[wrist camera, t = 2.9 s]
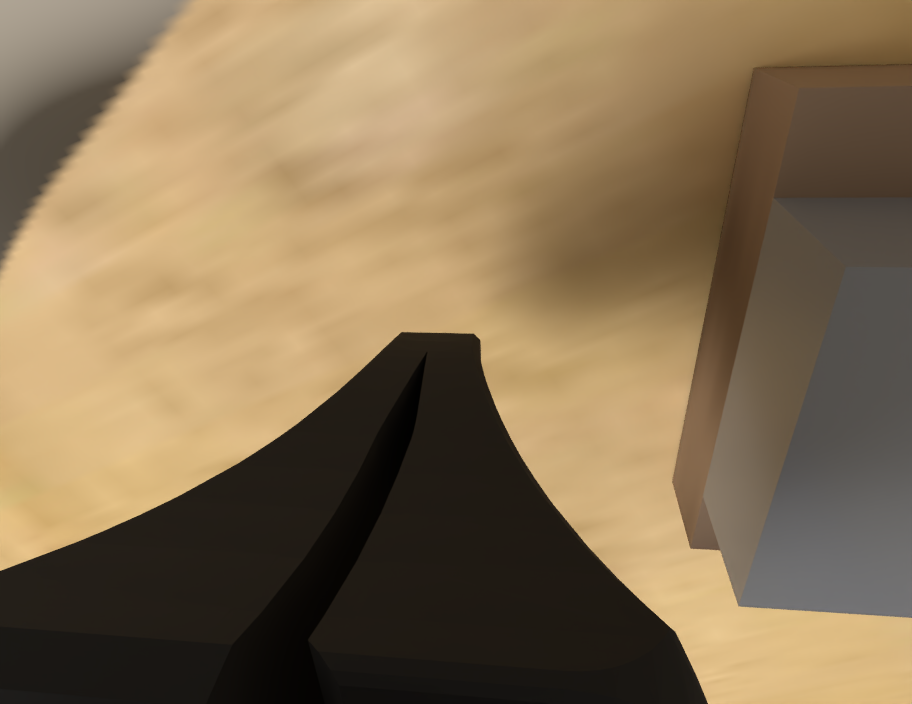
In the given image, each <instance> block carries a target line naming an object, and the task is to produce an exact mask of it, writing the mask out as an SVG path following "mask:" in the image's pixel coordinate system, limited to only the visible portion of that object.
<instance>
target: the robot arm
mask: <svg viewBox="0 0 912 704" xmlns="http://www.w3.org/2000/svg"><path fill="white" fill-rule="evenodd" d="M0 704H708V703H707V700H706V698H705V695H704V693H703V691H702V688H701V686H700V684H699V681H698V679H697V677H696V674H695V672H694V670H693V668H692V666H691V663H690V661H689V659H688V657H687V655H686V653H685V651H684V649H683V647H682V645H681V643H680V641H679V639H678V637H677V635H676V633H675V631H674V630H672V629H671V628H670V627H669V626H668V625H667V624H666V623H665V622H664V621H662V620H661V619H660V618H659V617H658V616H657V615H656V614H655V613H654V612H652V611H651V610H650V609H649V608H648V607H647V606H646V605H645V604H644V603H643V602H642V601H640V600H639V599H638V598H637V597H636V596H635V595H634V594H633V593H632V592H631V591H630V590H629V589H628V588H627V587H626V586H625V585H624V584H623V583H622V582H621V581H620V580H619V579H618V578H617V577H616V576H615V575H614V574H613V573H612V572H611V571H610V570H609V569H608V568H607V567H606V565H605V564H604V563H603V562H602V561H601V560H600V559H599V558H598V557H597V556H596V555H595V554H594V553H593V552H592V551H591V550H590V549H589V547H588V546H587V545H586V544H585V543H584V541H583V540H582V539H581V538H580V537H579V535H578V534H577V533H576V532H575V530H574V529H573V528H572V527H571V526H570V524H569V523H568V522H567V521H566V520H565V518H564V517H563V516H562V515H561V513H560V512H559V511H558V510H557V509H556V507H555V506H554V505H553V504H552V502H551V501H550V500H549V498H548V497H547V495H546V494H545V493H544V491H543V490H542V488H541V487H540V485H539V484H538V483H537V481H536V480H535V478H534V477H533V475H532V474H531V472H530V470H529V469H528V467H527V466H526V464H525V462H524V461H523V459H522V458H521V456H520V454H519V452H518V451H517V449H516V447H515V445H514V443H513V442H512V440H511V438H510V436H509V434H508V432H507V430H506V428H505V426H504V424H503V422H502V420H501V418H500V415H499V413H498V411H497V409H496V406H495V404H494V401H493V398H492V396H491V393H490V391H489V388H488V385H487V382H486V379H485V376H484V372H483V368H482V364H481V345H480V339H479V338H478V337H476V336H475V335H474V334H458V333H411V332H401V333H400V334H399V335H398V336H397V337H396V338H395V339H394V340H393V341H392V342H390V343H389V344H388V345H387V346H386V347H385V348H384V349H383V350H382V351H381V352H380V353H379V354H378V355H377V356H376V357H375V358H374V359H373V360H371V361H370V362H369V363H368V364H367V365H366V366H365V367H364V368H363V369H362V370H361V371H360V372H359V373H358V374H357V375H355V376H354V377H353V378H352V379H351V380H350V381H349V382H348V383H347V384H345V385H344V386H343V387H342V388H341V389H340V390H339V391H338V392H337V393H335V394H334V395H333V396H332V397H330V398H329V399H328V400H327V401H325V402H324V403H323V404H322V405H320V406H319V407H318V408H317V409H315V410H314V411H313V412H312V413H310V414H309V415H308V416H307V417H305V418H304V419H303V420H302V421H300V422H299V423H298V424H297V425H295V426H294V427H292V428H291V429H290V430H288V431H287V432H285V433H284V434H283V435H281V436H280V437H278V438H277V439H275V440H274V441H272V442H271V443H269V444H268V445H266V446H265V447H263V448H262V449H260V450H259V451H257V452H256V453H254V454H252V455H251V456H249V457H248V458H246V459H245V460H243V461H241V462H240V463H238V464H236V465H235V466H233V467H231V468H229V469H227V470H226V471H224V472H222V473H220V474H218V475H216V476H215V477H213V478H211V479H209V480H207V481H206V482H204V483H202V484H200V485H198V486H197V487H195V488H193V489H191V490H189V491H187V492H186V493H184V494H182V495H180V496H178V497H176V498H174V499H172V500H170V501H168V502H166V503H164V504H162V505H160V506H158V507H156V508H154V509H151V510H149V511H147V512H145V513H143V514H141V515H139V516H137V517H134V518H132V519H130V520H128V521H125V522H123V523H121V524H119V525H116V526H114V527H112V528H110V529H107V530H105V531H103V532H100V533H98V534H96V535H93V536H91V537H88V538H86V539H83V540H81V541H79V542H76V543H74V544H71V545H68V546H66V547H63V548H60V549H58V550H55V551H52V552H50V553H47V554H44V555H42V556H39V557H36V558H34V559H31V560H28V561H26V562H23V563H20V564H18V565H15V566H12V567H10V568H7V569H4V570H2V571H0Z"/></svg>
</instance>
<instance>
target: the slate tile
mask: <svg viewBox="0 0 912 704" xmlns="http://www.w3.org/2000/svg"><path fill="white" fill-rule="evenodd" d="M703 498H704V501H705V504H706V507H707V510H708V514H709V517H710V520H711V523H712V526H713V529H714V532H715V535H716V538H717V541H718V544H719V548H720V551H721V554H722V557H723V560H724V563H725V566H726V569H727V572H728V575H729V578H730V582H731V585H732V588H733V591H734V594H735V597H736V600H737V603H738V606H741V607H757V608H772V609H787V610H802V611H818V612H833V613H848V614H863V615H879V616H894V617H909V618H912V197H886V198H773V201H772V205H771V209H770V214H769V218H768V222H767V226H766V231H765V235H764V239H763V243H762V248H761V252H760V256H759V260H758V265H757V269H756V273H755V277H754V282H753V286H752V290H751V294H750V299H749V303H748V307H747V311H746V315H745V320H744V324H743V328H742V332H741V337H740V341H739V345H738V349H737V354H736V358H735V362H734V366H733V371H732V375H731V379H730V383H729V388H728V392H727V396H726V400H725V405H724V409H723V413H722V417H721V422H720V426H719V430H718V434H717V439H716V443H715V447H714V451H713V456H712V460H711V464H710V468H709V472H708V477H707V481H706V485H705V489H704V494H703Z"/></svg>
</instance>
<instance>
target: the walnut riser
mask: <svg viewBox="0 0 912 704" xmlns="http://www.w3.org/2000/svg"><path fill="white" fill-rule="evenodd" d="M886 197H912V64H903V65H860V66H818V67H775V68H754V71H753V76H752V81H751V86H750V91H749V96H748V101H747V106H746V111H745V116H744V122H743V127H742V132H741V137H740V142H739V147H738V152H737V157H736V162H735V167H734V172H733V177H732V182H731V187H730V192H729V198H728V203H727V208H726V213H725V218H724V223H723V228H722V233H721V238H720V243H719V248H718V253H717V258H716V263H715V268H714V274H713V279H712V284H711V289H710V294H709V299H708V304H707V309H706V314H705V319H704V324H703V329H702V334H701V339H700V344H699V350H698V355H697V360H696V365H695V370H694V375H693V380H692V385H691V390H690V395H689V400H688V405H687V410H686V415H685V420H684V426H683V431H682V436H681V441H680V446H679V451H678V456H677V461H676V466H675V471H674V476H673V481H672V482H673V486H674V490H675V493H676V497H677V501H678V504H679V508H680V512H681V515H682V519H683V523H684V526H685V530H686V534H687V537H688V541H689V545H690V548H691V549H709V550H720V548H719V544H718V541H717V538H716V535H715V532H714V529H713V526H712V523H711V520H710V517H709V514H708V510H707V507H706V504H705V501H704V498H703V494H704V489H705V485H706V481H707V477H708V472H709V468H710V464H711V460H712V456H713V451H714V447H715V443H716V439H717V434H718V430H719V426H720V422H721V417H722V413H723V409H724V405H725V400H726V396H727V392H728V388H729V383H730V379H731V375H732V371H733V366H734V362H735V358H736V354H737V349H738V345H739V341H740V337H741V332H742V328H743V324H744V320H745V315H746V311H747V307H748V303H749V299H750V294H751V290H752V286H753V282H754V277H755V273H756V269H757V265H758V260H759V256H760V252H761V248H762V243H763V239H764V235H765V231H766V226H767V222H768V218H769V214H770V209H771V205H772V201H773V198H886Z"/></svg>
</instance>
